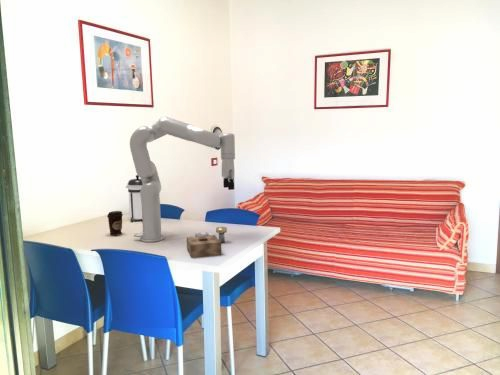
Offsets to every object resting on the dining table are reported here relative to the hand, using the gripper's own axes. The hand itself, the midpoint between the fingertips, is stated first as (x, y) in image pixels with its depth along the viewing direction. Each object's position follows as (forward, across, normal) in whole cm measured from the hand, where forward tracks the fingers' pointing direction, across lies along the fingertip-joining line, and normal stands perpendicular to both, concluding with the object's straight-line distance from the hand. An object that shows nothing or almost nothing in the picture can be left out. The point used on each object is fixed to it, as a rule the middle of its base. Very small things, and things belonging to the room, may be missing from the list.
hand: (228, 188), depth 220 cm
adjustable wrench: (+27, +1, -19) cm, 33 cm away
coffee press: (+26, -64, -43) cm, 82 cm away
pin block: (+26, +25, -20) cm, 41 cm away
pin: (+26, +10, -7) cm, 29 cm away
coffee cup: (+26, -27, -59) cm, 70 cm away
